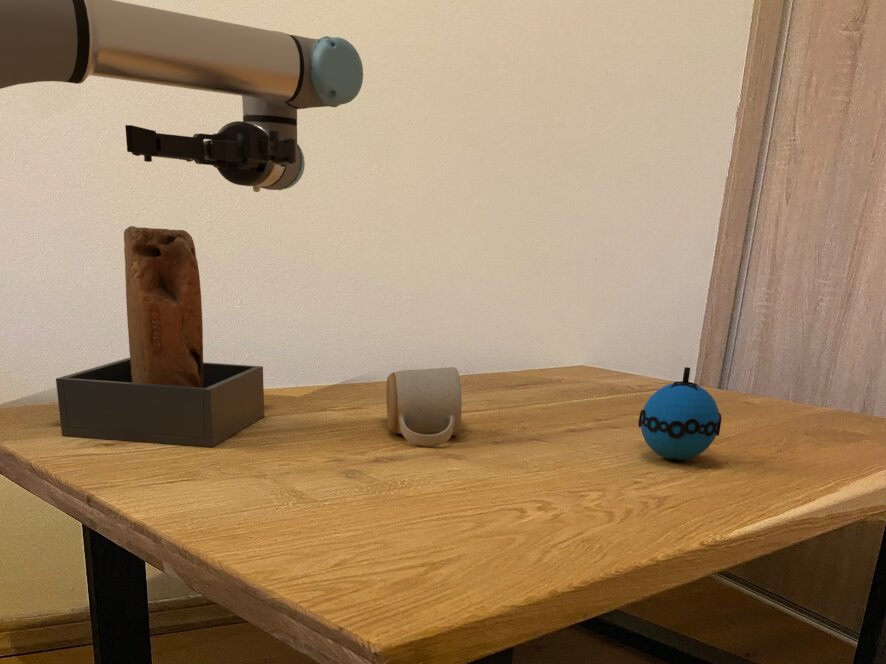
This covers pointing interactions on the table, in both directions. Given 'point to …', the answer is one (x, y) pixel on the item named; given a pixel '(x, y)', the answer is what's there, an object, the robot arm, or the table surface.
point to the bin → (160, 405)
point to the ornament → (680, 420)
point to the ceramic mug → (424, 405)
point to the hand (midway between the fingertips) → (187, 141)
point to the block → (163, 307)
